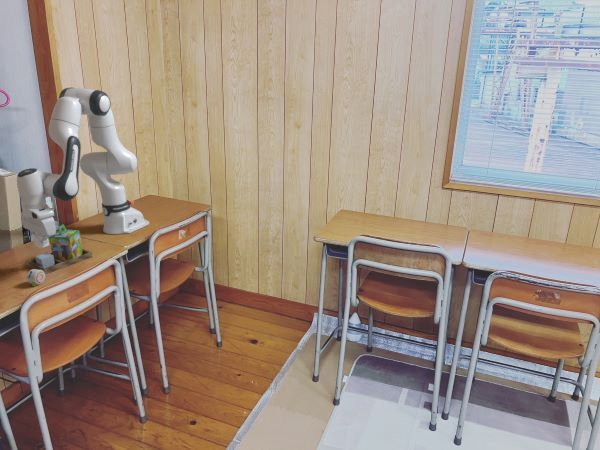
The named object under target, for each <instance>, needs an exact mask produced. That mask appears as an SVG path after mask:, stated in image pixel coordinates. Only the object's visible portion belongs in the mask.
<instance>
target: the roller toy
mask: <svg viewBox="0 0 600 450" xmlns="http://www.w3.org/2000/svg"><path fill="white" fill-rule="evenodd" d="M45 280H46V274H45V273H44V271H42V270H38V269H34V268H31V269H30V270H29V271H28V272H27V274H26V281H27V282H28V284H31V285H32V287H36V286H39V285H41V284H43V283H44V281H45Z"/></svg>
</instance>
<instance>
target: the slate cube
mask: <svg viewBox="0 0 600 450" xmlns="http://www.w3.org/2000/svg"><path fill="white" fill-rule="evenodd" d="M34 257H35V258H36V263H37V264H38V265H40V266H42V267H44V268H47V267H50V266H53V265H55V261H54V256H53V255H52V254H50V253H49V252H45V253H42V254H37V255H35V256H34ZM35 258H34V259H35Z"/></svg>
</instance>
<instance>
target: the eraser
mask: <svg viewBox="0 0 600 450" xmlns="http://www.w3.org/2000/svg"><path fill="white" fill-rule="evenodd" d="M32 238H33V239H32V240H33V244H34V247H35V248H38V249H43V248H46V247H48V246H50V240H49V237H48V238H47V241H48V243H47V244H42V242H41V240H42V237H41V234H38V233H37V234H34V235H33V234H32Z"/></svg>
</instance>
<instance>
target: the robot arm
mask: <svg viewBox="0 0 600 450" xmlns="http://www.w3.org/2000/svg"><path fill="white" fill-rule="evenodd" d="M111 105H112V104H111V98H110V97H109V95H108V94H107V93H106V92H105V91H102V90H99V89H94V88H93V89H92V88H86V87H81V88H80V87H66V88H65V87H64V89H63V90H61V92H60V93H59V95H58V99H57V101H56V102H55V105H54V108H53V109H52V113H51V117H50V120H49V123H48V135H49V137H50V139H51V140H52V141H53V142H54V143H55V144H57V145H58V146H59V147H60V148H61V149H62V153H63V160H62V167H61V168H62V169H61V170H62V171H61V173H60V174H58V173H53V172H46V171H41V170H39V169H37V168H26V169H23V170H21V171H19V172H18V173H17V174H16V175H17V176H16V185H17V192H18V196H19V197H20V200H21V201H20V205H21V212H20V219H21V225H22V227H23V228H24V229H26V230H28V231H30V232H31V235H32V236H33V235H34V234H37V233H38V234H41V237H42V240H41V242H42V244H47V243H48V241H47V238H48V239H49V237H50V236H54V235H55V234H56V232H57V228H56V222H55V218H54V216H55V212H54V210H53V209H52V208H50V207H49V205H48V204H47V200H46V198H52V199H53V198H54V199H58V200H60V201H61V200H62V201H64V202H69V201H71V200H73V199H75V197H77V195H78V193H79V192H80V191H79V190H80V183H79V172H80V170H81V171H82V172H83V174H85V175H86V176H89V177H90V178H91V179H92V180H93V181H94V182H95V183H96V185H97V186H98V188H99V192H100V196H101V202H102V203H101V209H102V214H103V229H102V231H103V233H105V234H108V235H109V234H110V235H119V234H131V233H133V232H135V231H138V230H139V229H140V230H141V228H142V229H143V228H144V227H146V226H148V225H150V221H149V220H147V219H145V218H144V215H143V213H142V212H141V211H140V210H138V209H136V208H134V207H132V206H134V204H135V201H134V200H128V199H127V194H126V187H125V186H124V184H123V183H121V182H120V181H118V180H115V179H114V178H112V177H111V176H112V175H126V174H130V173H134V172H135V171H136V169H137V168H138V159H137V157H136V154H135V153H134V152H132V151H131V150H129V149H127V148H126V147H125V146H124V145H123V144H122V142H121V140H120V139H119V136H118V131H117V129H116V123H115V116H114V113H113V110H112V107H111ZM82 115H87V119H88V120H87V121H88V126H89V131H90V136H91V140H92V142H93V143H94V144H95V145H96V146H98V147H101V148H103V149H104V150H106V151H93V152H88V153H84V154H83V155H82V156H81V150H82V149H81V148H82V147H81V146H82V144H81V141H80V139H79V130H80V126H81V121H82Z"/></svg>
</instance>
